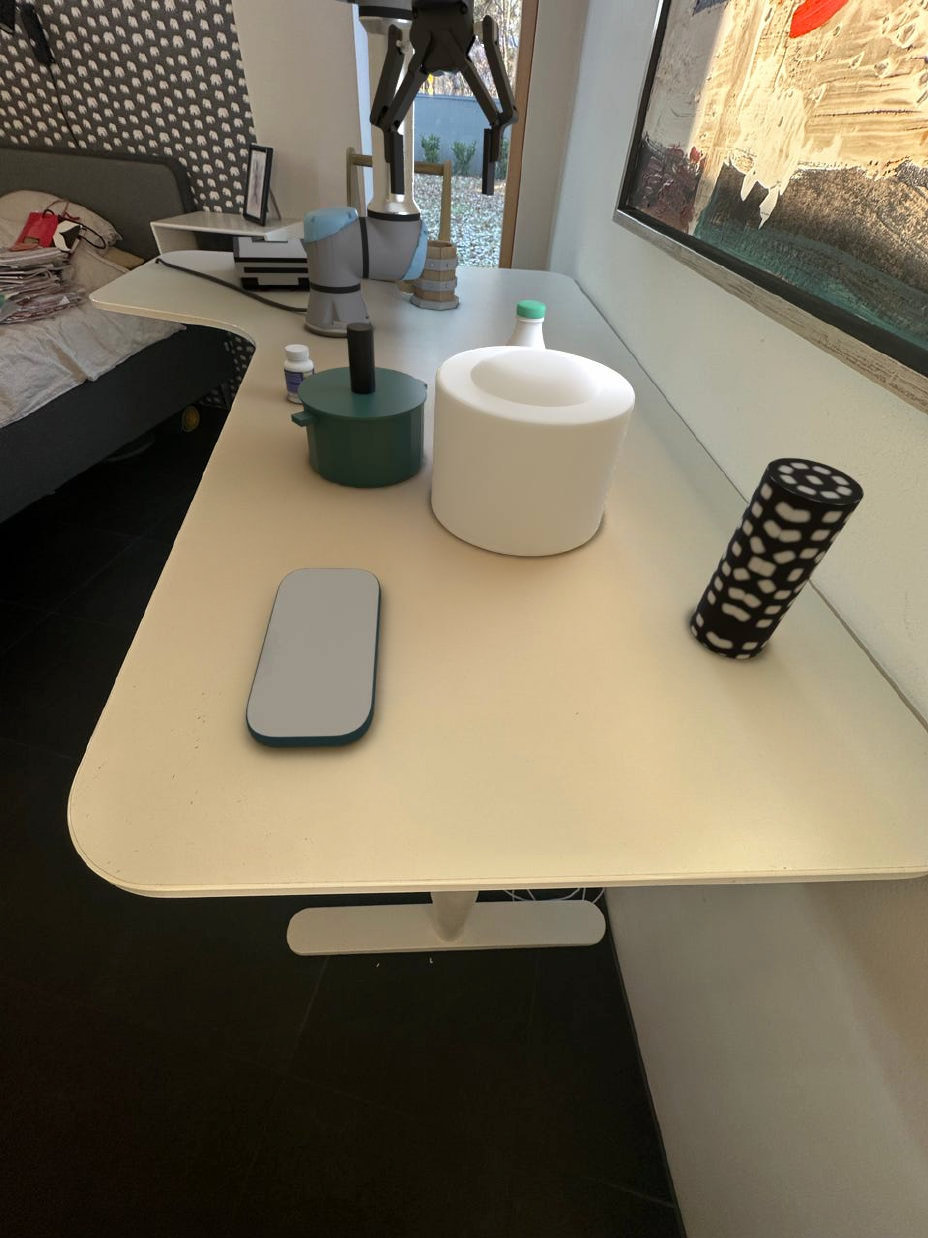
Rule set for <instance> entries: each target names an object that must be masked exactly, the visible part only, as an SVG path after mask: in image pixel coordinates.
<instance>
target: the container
mask: <svg viewBox="0 0 928 1238" xmlns="http://www.w3.org/2000/svg"><path fill="white" fill-rule="evenodd" d="M434 380H435V381H434V385H435V386H434V406H433V407H434V408H433V409H434V411H433V438H432V439H433V440H432V441H433V443H432V468H431V469H432V471H431V502H430V503H431V508H432V512H433V513H434V515H435V517H436V519H437V520H438V521H439V523H440V525H442V526H443V527H444V528H445V529H446V530H447V531H448V532H450V533H451V534H452V535H454V536H455V537H457V538H459V540H460V539H461V540H462V541H464V542H465V543H468V544H470V545H472V546H475V547H477V548H481V549H483V550H486V551H489V552H494V553H498V554H503V555H508V556H519V557H542V556H543V557H545V556H552V555H557V554H562V553H565V552H569V551H573V550H574V549H577V548H578V547H581V546H582V545H584V544H586V543H587V542H589V541H590V540H591V539H592V538H593V537H594V535H595V534H596V533H597V531H598V529H599V528H600V525H601V521H602V518H603V515H604V511H605V507H606V504H607V501H608V498H609V493H610V490H611V487H612V484H613V480H614V476H615V473H616V469H617V466H618V462H619V458H620V456H621V452H622V449H623V445H624V442H625V439H626V435H627V432H628V428H629V425H630V422H631V417H632V415H633V410H634V407H635V403H636V394H635V390H634V388H633V386H632V385H631V383H630V382H629V381H628V380H627V379H625V378H624V377H623V376H622V374H620V373H618V372H617V371H615V370H613V369H611V368H610V367H608V366H606V365H605V364H602V363H600V362H598V361H595V360H592V359H589V358H586V357H583V356H580V355H576V354H573V353H569V352H565V351H560V350H556V349H549V348H545V349H543V348H534V347H521V346H506V345H500V346H488V347H479V348H474V349H470V350H466V351H462V352H459V353H457V354H455V355H452V356H450V357H449V358H447V359H445V360H444V361H443V362H442V363H440V365H439V366H438V369H437V370H436V373H435V379H434Z"/></svg>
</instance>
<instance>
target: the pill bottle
mask: <svg viewBox="0 0 928 1238" xmlns="http://www.w3.org/2000/svg"><path fill="white" fill-rule="evenodd" d="M284 353H285V358H286V359H285V360H284V362H283V372H284V379H285V386H286V392H287V393H286V394H287V398H288V400H289V401H291V403H294V404H303V403H302V402H301V401H300V399H299V396H298V387H299V385H300V383H301V382H302V381H303V380H304V379H306V378H307V377H309V376H311V375H313V374H315V364H314V362H313V361H312V360H311V359H310V358H309V357H310V351H309V347H308V346H306V345H305V344H304V345H303V344H298V343H297V344H296V343H295V344H288V345H287V346H285V347H284Z"/></svg>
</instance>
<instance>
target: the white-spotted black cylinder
mask: <svg viewBox="0 0 928 1238" xmlns="http://www.w3.org/2000/svg"><path fill="white" fill-rule="evenodd" d="M864 495H865V492H864V489H863V487H862V486H861V484H859V482H858V481H857V480H856V479H854V478H853V477H852V476H850V475H848V474H847V473H845V472H843V471H842V470H840V469H837V468H835V467H833V466H830V465H828V464H825V463H822V462H819V461H815V460H811V459H805V458H798V457H781V458H777V459H774V460H771V461H770V462H769V463H768V464H767V466H766V468H765V470H764V471H763V474H762V476H761V478H760V480H759V481H758V483H757V485H756V487H755V490H754V492H753V494H752V496H751V498H750V499H749V502H748V504H747V505H746V507H745V509H744V512H743V514H742V515H741V518H740V520H739V522H738V523H737V526H736V528H735V530H734V532H733V534H732V536H731V537H730V540H729V541H728V544H727V545H726V547H725V549H724V552H723V554H722V555H721V557H720V560H719V561H718V563H717V565H716V568H715V569H714V571H713V574H712V576H711V577H710V579H709V582H708V583H707V585H706V587H705V589H704V592H703V593H702V595H701V598H700V599H699V601H698V603H697V605H696V607H695V610H694V611H693V613H692V616H691V617H690V621H689V626H690V630H691V632H692V634H693V635H694V637H695V638H696V639H697V640H698V641H699V642H700V643H701V644H702V645H703V646H704V647H705V648H707V649H709V650H710V651H712V652H714V653H716V654H718V655H720V656H723V657H726V658H732V659H738V660H740V659H741V660H743V659H750V658H754V657H756V656H758V655H760V653H761V652H762V651H763V649H764V648H765V646H766V645H767V643H768V642H769V640H770V639H771V637H772V635H774V632H775V631H776V630H777V628H778V626H779V625H780V623H781V622H782V620H783V619H784V618H785V616H786V615H787V613H788V611H789V610H790V609H791V607H792V605H793V604H794V603H795V601H796V600H797V598H798V596H799V595H800V593H801V592H802V591H803V589H804V588H805V586H806V585H807V583H808V581H809V580H810V578H811V577H812V575H813V574H814V572H815V571H816V569H817V568H818V566H819V565H820V563H821V562H822V560H823V559H824V557H825V555H826V554H827V553H828V551H829V550H830V548H831V546H832V545H833V544H834V542H835V541H836V540H837V537H838V536H839V535H840V533H841V532H842V530H843V529H844V527H845V525H846V524H847V522H848V521H849V520H850V518H851V517H852V515H853V514H854V512H855V511H856V509H857V508H858V506H859V505H860V503H861V502H862V500H863V499H864Z"/></svg>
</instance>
